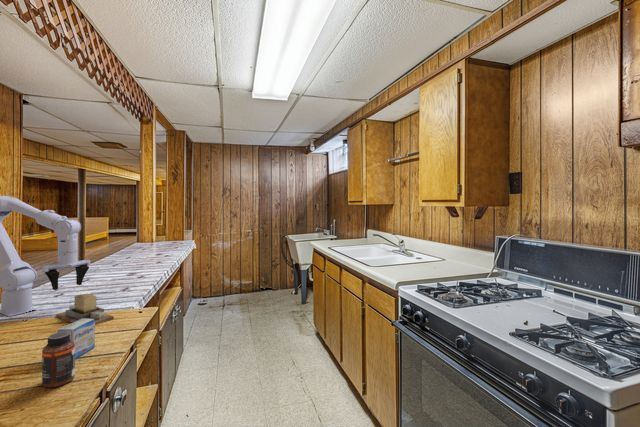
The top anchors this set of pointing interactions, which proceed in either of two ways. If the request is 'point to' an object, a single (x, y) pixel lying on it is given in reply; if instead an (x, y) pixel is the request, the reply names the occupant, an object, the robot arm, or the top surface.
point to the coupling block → (85, 303)
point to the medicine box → (81, 335)
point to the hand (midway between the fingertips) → (67, 287)
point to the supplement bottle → (58, 360)
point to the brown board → (85, 315)
